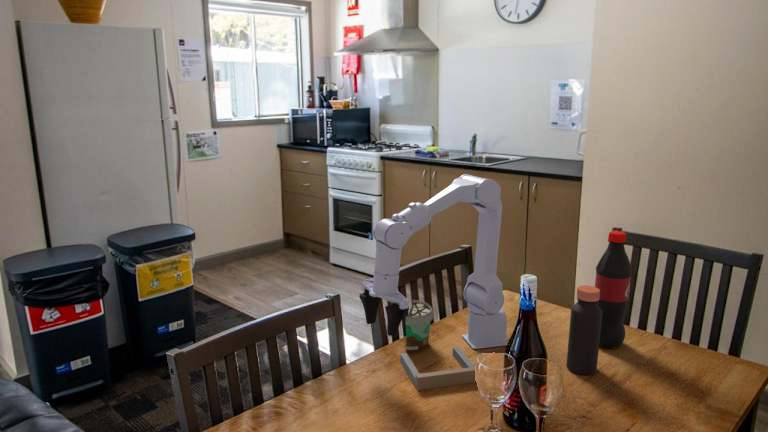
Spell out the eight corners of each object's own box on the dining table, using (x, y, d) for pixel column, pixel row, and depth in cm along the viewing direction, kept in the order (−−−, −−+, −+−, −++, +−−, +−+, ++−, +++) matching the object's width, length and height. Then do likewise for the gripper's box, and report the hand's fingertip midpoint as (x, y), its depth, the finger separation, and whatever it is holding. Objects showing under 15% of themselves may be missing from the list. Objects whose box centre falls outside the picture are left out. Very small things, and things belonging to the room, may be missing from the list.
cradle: (458, 354, 138) (458, 342, 137) (480, 381, 125) (481, 369, 125) (400, 361, 134) (400, 349, 134) (417, 390, 122) (417, 377, 121)
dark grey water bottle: (579, 378, 127) (587, 296, 122) (560, 364, 133) (566, 285, 128) (603, 372, 129) (611, 292, 125) (582, 359, 135) (590, 282, 131)
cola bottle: (628, 342, 144) (641, 231, 137) (617, 354, 138) (629, 238, 131) (596, 333, 150) (606, 225, 143) (583, 344, 143) (594, 232, 137)
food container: (429, 357, 136) (430, 319, 134) (405, 355, 137) (405, 317, 135) (435, 335, 148) (436, 300, 146) (412, 333, 149) (413, 298, 147)
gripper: (353, 265, 128) (348, 321, 131) (394, 283, 118) (388, 343, 120) (376, 262, 133) (371, 316, 135) (418, 279, 122) (412, 337, 125)
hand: (381, 328), depth 128 cm, fingers open, 7 cm apart
